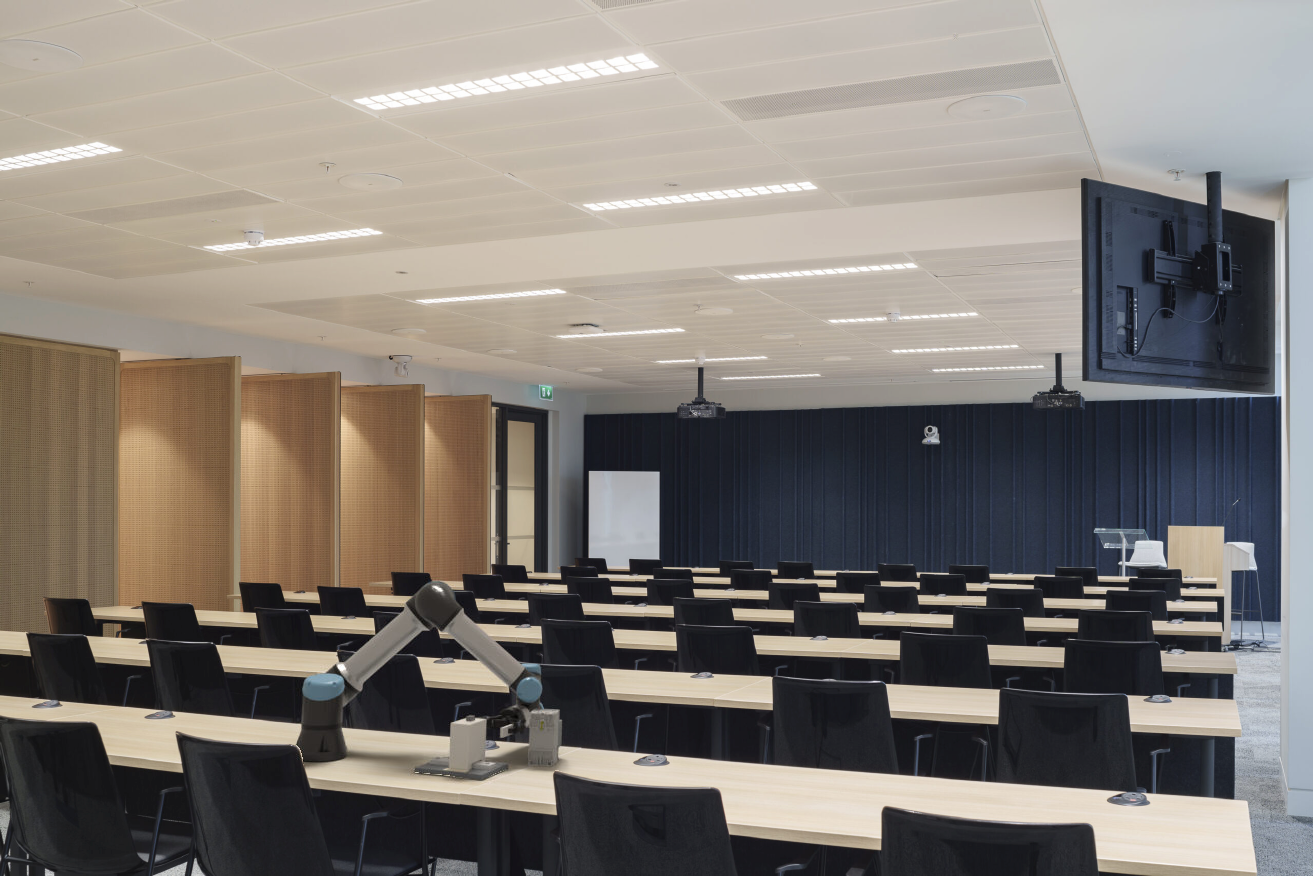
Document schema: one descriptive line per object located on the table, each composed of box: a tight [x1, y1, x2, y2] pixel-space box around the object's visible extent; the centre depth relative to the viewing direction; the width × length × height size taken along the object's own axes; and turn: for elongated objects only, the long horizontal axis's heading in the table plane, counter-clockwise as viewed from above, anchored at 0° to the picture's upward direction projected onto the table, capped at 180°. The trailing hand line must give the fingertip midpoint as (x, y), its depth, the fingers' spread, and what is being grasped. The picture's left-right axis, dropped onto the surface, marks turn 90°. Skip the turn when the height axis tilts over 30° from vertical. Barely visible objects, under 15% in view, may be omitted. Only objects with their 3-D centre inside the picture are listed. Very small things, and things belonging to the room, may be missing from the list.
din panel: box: [414, 756, 509, 781], centre depth 310 cm, size 21×16×3 cm
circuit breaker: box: [527, 708, 563, 767], centre depth 327 cm, size 8×14×15 cm, turn 174°
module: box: [448, 714, 487, 770], centre depth 311 cm, size 6×10×14 cm, turn 161°
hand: (480, 730), depth 317 cm, fingers open, 13 cm apart
